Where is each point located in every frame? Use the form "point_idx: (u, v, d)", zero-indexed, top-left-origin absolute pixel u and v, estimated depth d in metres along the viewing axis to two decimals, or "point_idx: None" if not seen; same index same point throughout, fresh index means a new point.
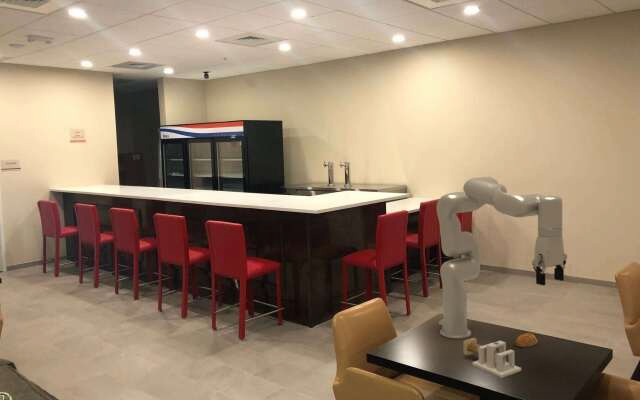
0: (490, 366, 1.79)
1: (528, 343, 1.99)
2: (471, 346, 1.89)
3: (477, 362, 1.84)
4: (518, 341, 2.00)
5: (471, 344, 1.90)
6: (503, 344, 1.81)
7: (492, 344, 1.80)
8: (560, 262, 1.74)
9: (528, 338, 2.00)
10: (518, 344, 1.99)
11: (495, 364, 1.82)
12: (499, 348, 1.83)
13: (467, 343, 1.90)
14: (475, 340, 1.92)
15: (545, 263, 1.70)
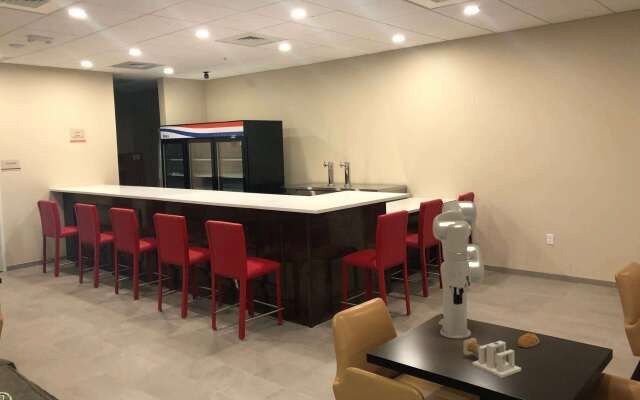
0: (490, 366, 1.79)
1: (530, 343, 1.99)
2: (471, 346, 1.89)
3: (477, 362, 1.84)
4: (520, 341, 2.00)
5: (471, 344, 1.90)
6: (503, 344, 1.81)
7: (492, 344, 1.80)
8: None
9: (530, 338, 2.00)
10: (521, 344, 1.99)
11: (495, 364, 1.82)
12: (499, 348, 1.83)
13: (467, 343, 1.90)
14: (475, 340, 1.92)
15: (470, 283, 1.91)
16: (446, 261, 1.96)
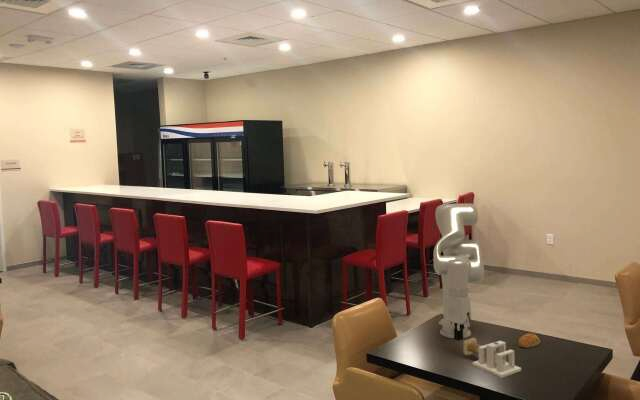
0: (490, 366, 1.79)
1: (531, 343, 1.98)
2: (471, 346, 1.89)
3: (477, 362, 1.84)
4: (521, 342, 1.99)
5: (471, 344, 1.90)
6: (503, 344, 1.81)
7: (492, 344, 1.80)
8: None
9: (531, 338, 2.00)
10: (521, 345, 1.98)
11: (495, 364, 1.82)
12: (499, 348, 1.83)
13: (467, 343, 1.90)
14: (475, 340, 1.92)
15: None
16: (447, 297, 1.97)
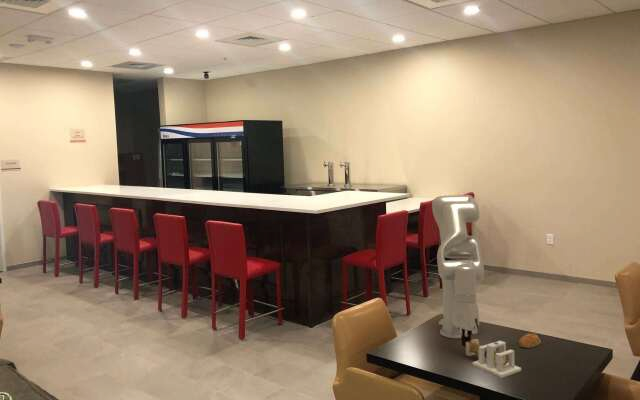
0: (490, 366, 1.79)
1: (532, 344, 1.98)
2: (474, 347, 1.88)
3: (477, 362, 1.84)
4: (522, 342, 1.99)
5: (473, 345, 1.89)
6: (503, 344, 1.81)
7: (492, 344, 1.80)
8: None
9: (532, 339, 2.00)
10: (522, 345, 1.98)
11: (495, 364, 1.82)
12: (499, 348, 1.83)
13: (469, 344, 1.89)
14: (477, 341, 1.91)
15: (478, 325, 1.89)
16: (454, 302, 1.93)
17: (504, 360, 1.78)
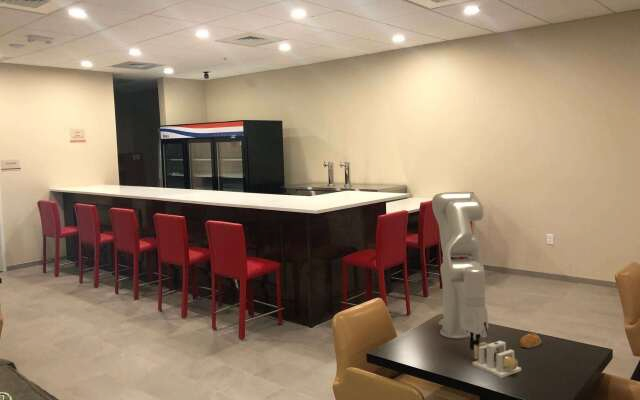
0: (490, 366, 1.79)
1: (533, 344, 1.98)
2: None
3: (477, 362, 1.84)
4: (523, 342, 1.99)
5: None
6: (503, 344, 1.81)
7: (492, 344, 1.80)
8: None
9: (532, 339, 2.00)
10: (523, 345, 1.98)
11: (495, 364, 1.82)
12: (499, 348, 1.83)
13: (478, 347, 1.85)
14: (486, 344, 1.87)
15: (487, 329, 1.85)
16: (463, 305, 1.90)
17: (514, 364, 1.74)
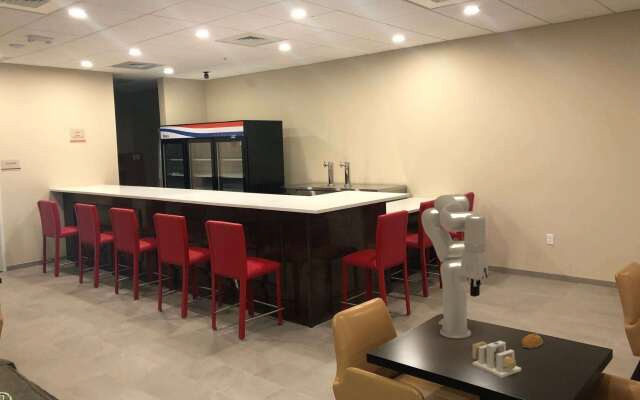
0: (490, 366, 1.79)
1: (535, 344, 1.98)
2: None
3: (477, 362, 1.84)
4: (525, 342, 1.98)
5: None
6: (503, 344, 1.81)
7: (492, 344, 1.80)
8: None
9: (534, 339, 1.99)
10: (525, 345, 1.98)
11: (495, 364, 1.82)
12: (499, 348, 1.83)
13: (476, 347, 1.86)
14: (484, 344, 1.88)
15: (487, 275, 1.89)
16: (463, 252, 1.93)
17: (512, 363, 1.75)
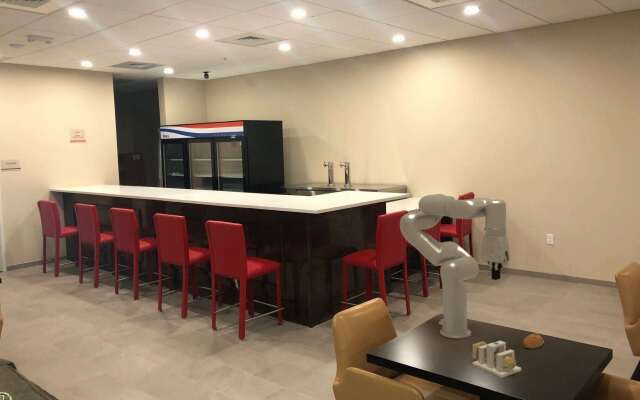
0: (490, 366, 1.79)
1: (536, 344, 1.97)
2: None
3: (477, 362, 1.84)
4: (526, 343, 1.98)
5: None
6: (503, 344, 1.81)
7: (492, 344, 1.80)
8: None
9: (536, 339, 1.99)
10: (527, 346, 1.97)
11: (495, 364, 1.82)
12: (499, 348, 1.83)
13: (476, 347, 1.86)
14: (484, 344, 1.88)
15: None
16: (484, 237, 1.98)
17: (512, 363, 1.75)
